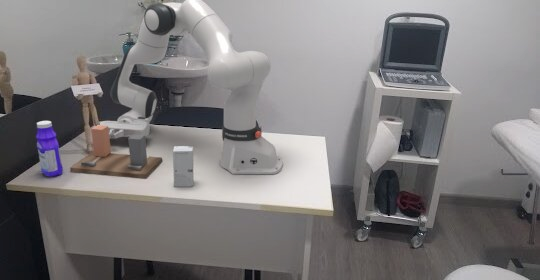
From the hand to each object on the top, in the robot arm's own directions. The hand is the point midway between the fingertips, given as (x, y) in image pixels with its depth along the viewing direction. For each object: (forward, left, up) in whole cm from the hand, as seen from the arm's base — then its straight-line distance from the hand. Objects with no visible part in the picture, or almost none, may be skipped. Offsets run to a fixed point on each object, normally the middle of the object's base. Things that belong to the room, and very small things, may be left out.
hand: (111, 136), depth 149 cm
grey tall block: (-16, +13, -4) cm, 21 cm away
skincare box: (-34, +20, -6) cm, 40 cm away
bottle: (+10, +21, -6) cm, 24 cm away
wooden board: (-8, +12, -6) cm, 16 cm away
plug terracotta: (0, +7, -4) cm, 8 cm away
